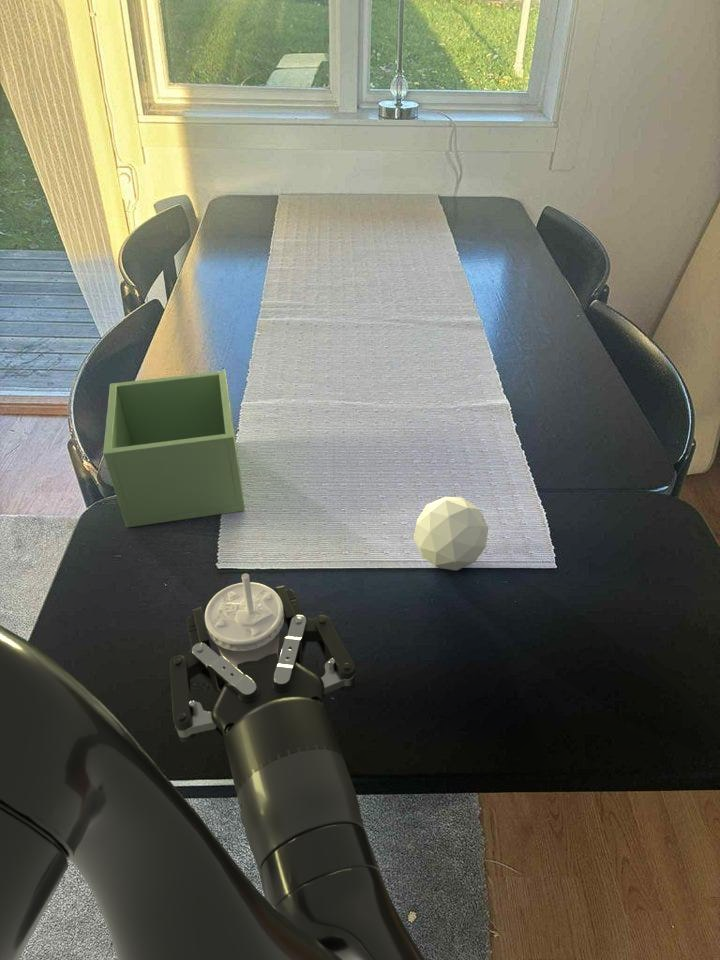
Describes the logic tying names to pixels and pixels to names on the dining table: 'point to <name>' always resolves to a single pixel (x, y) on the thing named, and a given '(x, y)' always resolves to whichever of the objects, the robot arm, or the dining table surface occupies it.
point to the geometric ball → (451, 533)
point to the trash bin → (172, 448)
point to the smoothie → (245, 621)
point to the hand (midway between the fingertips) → (239, 603)
